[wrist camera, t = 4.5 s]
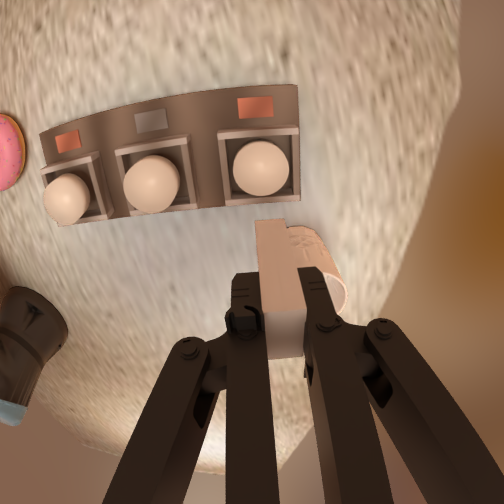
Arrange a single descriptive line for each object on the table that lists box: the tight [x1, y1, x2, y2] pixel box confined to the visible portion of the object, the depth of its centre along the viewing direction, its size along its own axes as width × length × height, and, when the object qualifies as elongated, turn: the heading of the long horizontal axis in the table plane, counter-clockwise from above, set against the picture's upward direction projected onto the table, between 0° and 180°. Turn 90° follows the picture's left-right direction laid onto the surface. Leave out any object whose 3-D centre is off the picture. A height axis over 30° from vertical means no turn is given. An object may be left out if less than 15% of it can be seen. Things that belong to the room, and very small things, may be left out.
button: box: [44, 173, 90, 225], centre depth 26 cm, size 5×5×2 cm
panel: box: [39, 84, 301, 227], centre depth 28 cm, size 28×12×5 cm, turn 94°
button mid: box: [123, 155, 180, 213], centre depth 26 cm, size 5×5×2 cm
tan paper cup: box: [287, 226, 348, 315], centre depth 33 cm, size 8×8×10 cm
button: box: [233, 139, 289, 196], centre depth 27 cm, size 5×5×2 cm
